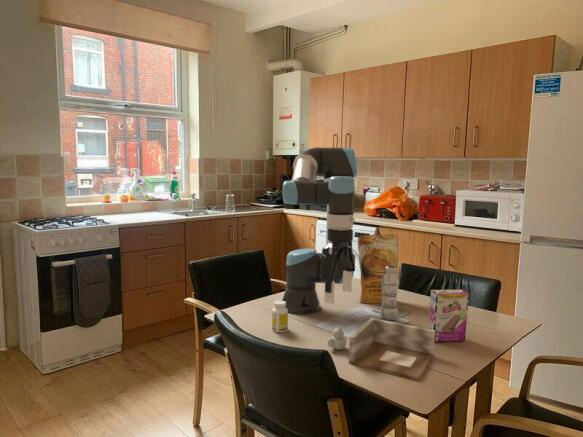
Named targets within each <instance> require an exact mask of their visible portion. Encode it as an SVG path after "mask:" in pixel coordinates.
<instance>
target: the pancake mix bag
mask: <svg viewBox="0 0 583 437" xmlns="http://www.w3.org/2000/svg"><path fill="white" fill-rule="evenodd" d="M398 242H399V241H398V236H396V234H366V235H360V236H358V237H357V250H358V251H357V252H358V261H359V264H358V265H359V270H360V286H361V287H360V288H361V292H360V293H361V296H360V300H359V303H363V304H382V295H383V294H382V283H381V279H382V277H383V276H384V274H385V273H386V271H385V270H386V266H395V267H396V272H395V274H396V275H397V276H398V272H399V271H398V270H399V246H398V245H399V243H398Z"/></svg>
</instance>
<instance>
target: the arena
mask: <svg viewBox="0 0 583 437" xmlns="http://www.w3.org/2000/svg"><path fill="white" fill-rule="evenodd" d="M434 338H435V330H431V329H428V328H424V327H420V326H415V325H409V324H404V323H400V322H395V321H389V320H384V319H379V318H374V317H370V318H369V319H368V320H367V321H365V323H363V324H362V325H361V326H360V327H358V329H356V330H355V331H354V332H353V333H351V335H350V336H349V342H348V345H349V347H348V364H351V365H355V366H359V367H362V368H367V369H370V370H375V371H378V372H382V373H387V374H390V375H394V376H398V377H402V378H405V379H410V380H413V381H417V382H419V381H420V380H421V378H422V376H423V375H424V373H425V371H426V370H427V369H428V366H429V364H430V363H431V360H432V359H433V358H434V355H435V354H434V351H435V342H434Z"/></svg>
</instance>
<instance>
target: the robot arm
mask: <svg viewBox="0 0 583 437" xmlns="http://www.w3.org/2000/svg"><path fill="white" fill-rule="evenodd" d="M292 169H293V174H292V178H291V180H285V181H284V182H283V183H282V200H283V203H284V204H285V205H293V206H295V205H305V206H306V205H307V206H308V205H310V206H311V205H313V206H314V205H315V206H319V205H320V206H326V229H325V230H326V232H325V234H326V235H325V236H326V238H325V245H324V246H323V247H322V248H321V249H322V250H321V252H318V251H317V249H315V248H311V247H310V248H307V247H306V248H299V249H295V250H291V251H289V252H288V254H287V255H286V263H285V265H286V274H285V275H286V277H285V278H286V283H285V290H284V295H283V297H282V300H281V301H285V302H286V307H285V308H287V309H288V313H290V314H298V315H300V314H301V315H302V314H303V315H305V314H313V313H316V312H318V311H319V310H320V309H321V308H320V304H321V303H320V299H319V295H318V294H317V292H318V291H317V288H316V287H317V286H316V284H324V296H323V297H324V298H323V299H324V301H323V302H324V303H326V304H331V305H332V304H335V284H338V285H341V284H342V292H345V293H346V292H347V293H351V292H352V284H353V283H352V282H353V277H354V272H355V271H356V257H357V256H356V254H355V253H354V251H353V239H354V230H353V228H354V222H355V220H356V219H355V218H354V209H355V208H354V207H355V190H356V187H355V178H357V173H358V172H357V171H358V169H357V159H356V153H355V150H354V149H352V148H350V147H343V146H342V147H319V146H318V147H317V146H316V147H311V148H308V149H305V150H303V151H301V152H300V153H299V154H298V155H297V156H296V157H295V158H294V161H293V164H292ZM315 177H323V180H322V181H320V180H319V181H314V180H315Z"/></svg>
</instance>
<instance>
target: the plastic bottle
mask: <svg viewBox="0 0 583 437" xmlns="http://www.w3.org/2000/svg"><path fill="white" fill-rule="evenodd" d="M385 271H386V273H385V274H384V276H383V277H382V279H381V283H382V294H383V295H382V303H381V304H380V305H381V306H380V310H379V313H380V314H379V316H380V317H381V320H385V321H390V322H394V321H396V320H397V319H398V315H399V308H398V293H399V292H398V291H399V286H400V279H399V277H398V274H397V275H396V274H395V272H396V267H395V266H386V270H385Z"/></svg>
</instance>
